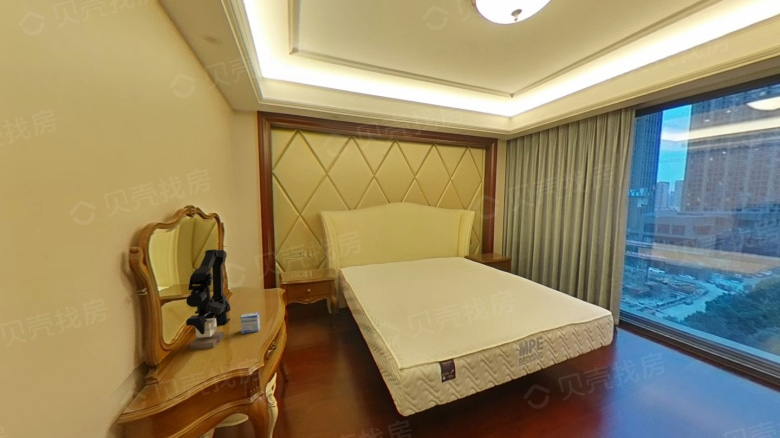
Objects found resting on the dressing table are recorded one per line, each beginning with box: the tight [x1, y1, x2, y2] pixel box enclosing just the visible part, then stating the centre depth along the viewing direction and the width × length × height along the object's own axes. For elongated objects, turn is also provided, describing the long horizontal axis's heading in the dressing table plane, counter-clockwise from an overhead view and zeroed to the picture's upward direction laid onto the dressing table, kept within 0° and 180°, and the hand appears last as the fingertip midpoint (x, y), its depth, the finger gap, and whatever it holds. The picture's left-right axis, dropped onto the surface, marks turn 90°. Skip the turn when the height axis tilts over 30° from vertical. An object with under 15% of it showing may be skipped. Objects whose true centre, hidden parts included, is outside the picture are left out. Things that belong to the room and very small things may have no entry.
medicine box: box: [240, 311, 261, 335], centre depth 140 cm, size 8×4×9 cm, turn 105°
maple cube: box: [194, 317, 218, 339], centre depth 129 cm, size 6×6×6 cm
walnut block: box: [189, 331, 225, 351], centre depth 130 cm, size 10×10×3 cm
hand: (206, 330), depth 129 cm, fingers closed on maple cube, 6 cm apart
